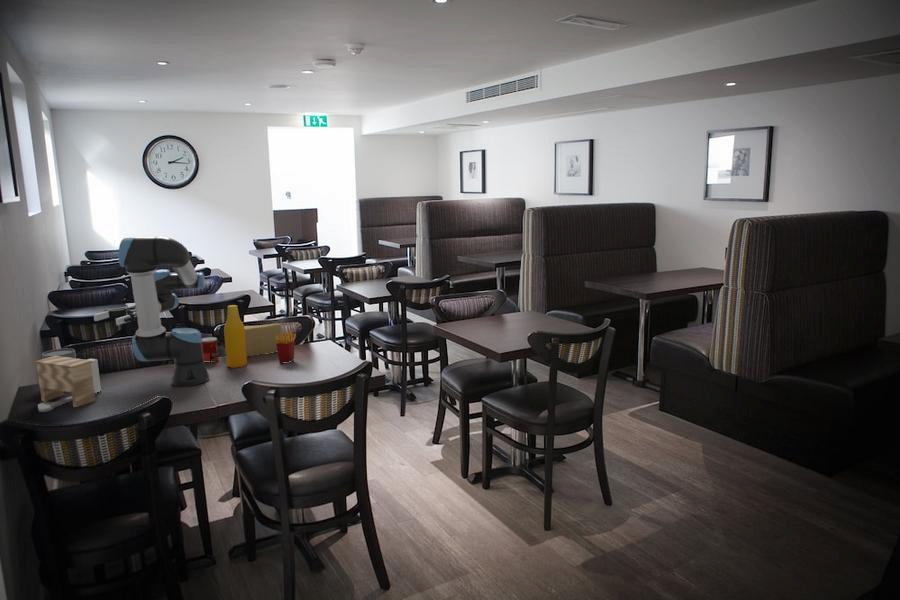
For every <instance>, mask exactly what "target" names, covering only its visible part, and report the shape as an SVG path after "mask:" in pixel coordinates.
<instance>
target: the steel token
mask: <svg viewBox="0 0 900 600" xmlns="http://www.w3.org/2000/svg"><path fill="white" fill-rule="evenodd" d="M53 402H54V401H47V402H40V403H38V404H37V410H38V412H39V413H47V412H50V411H53V410H55V408H54V404H53Z"/></svg>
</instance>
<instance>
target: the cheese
mask: <svg viewBox="0 0 900 600" xmlns="http://www.w3.org/2000/svg"><path fill="white" fill-rule="evenodd" d="M244 329H245V343H246V356H247V358H249V357H248V356H251V357H253V356H252V355H257V354H265V353H271V352H276V351H277V346H276V343H278V342H277V339H276V337H275V335H277V337H278V339H280V338H279V334H278V333H280V334H281V335H282V333H283V334H284V331H283V328H282V324H281V323H270V324H262V325H261V324H260V325H259V324H258V325H244ZM282 339H283V337H282ZM265 355H266V354H265ZM257 356H258V355H257Z"/></svg>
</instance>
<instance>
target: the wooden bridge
mask: <svg viewBox="0 0 900 600" xmlns="http://www.w3.org/2000/svg"><path fill="white" fill-rule="evenodd" d="M91 363H92V360H87V359H83V358H69V357H62V356H53V357H49V358H45V359H42V358H41V359H40V360H35V361H34V364H36V369H37V376H38V383H39V391H40V397H41V402H42V401H43V402H46V401H47V402H50V401H53V400H55V399H54V398H56V399H58V398H57V397H59V396H62V395H64V396H65V392H66V393H71V396H72V400H73V401H72V406H73V408H75V407H78V408H80V407H79V406H81V407H83V406H86V405H88V404H87V403H89V404H91V403H90V402H92V403H93V401H94V402H96V394H95V392H94V384H93V376H92V368H91ZM62 397H63V396H62ZM59 398H60V397H59ZM52 399H53V400H52ZM49 400H50V401H49ZM43 402H42V403H43ZM85 404H86V405H85ZM82 405H83V406H82Z"/></svg>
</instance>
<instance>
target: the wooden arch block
mask: <svg viewBox="0 0 900 600" xmlns="http://www.w3.org/2000/svg"><path fill="white" fill-rule="evenodd" d="M86 360H92V363H91V368H92V376H93V384H94V392H95V393H96V394H98V393H97V392H99V393H101V392H102V387H101V378H100V377H101V376H100V371H99V370H100V369H99V368H100V367H99V363H98V362H99V361H98V359H97V358H88V359H86ZM100 391H101V392H100ZM70 401H72V402H73V400H72V395H71V396H69V397H66V398H62V399H59V400H55V401H52V402H53V404H54V409H55V408H57V406H58V407H60V406H59V405H61V406H63V405H62V404H64V405H66V404H65V403H67V402H69V403H71V402H70ZM67 404H68V403H67Z"/></svg>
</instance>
